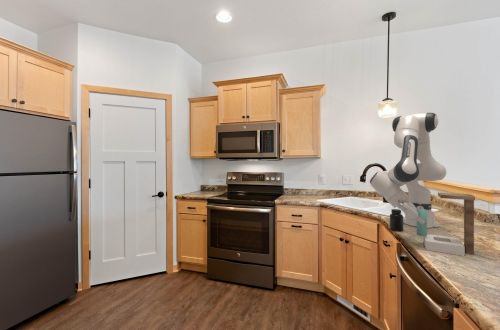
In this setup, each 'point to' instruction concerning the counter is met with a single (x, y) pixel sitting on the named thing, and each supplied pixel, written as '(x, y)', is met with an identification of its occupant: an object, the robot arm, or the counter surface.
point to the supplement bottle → (396, 220)
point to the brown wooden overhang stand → (465, 218)
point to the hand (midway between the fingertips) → (423, 221)
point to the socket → (444, 244)
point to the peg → (423, 227)
